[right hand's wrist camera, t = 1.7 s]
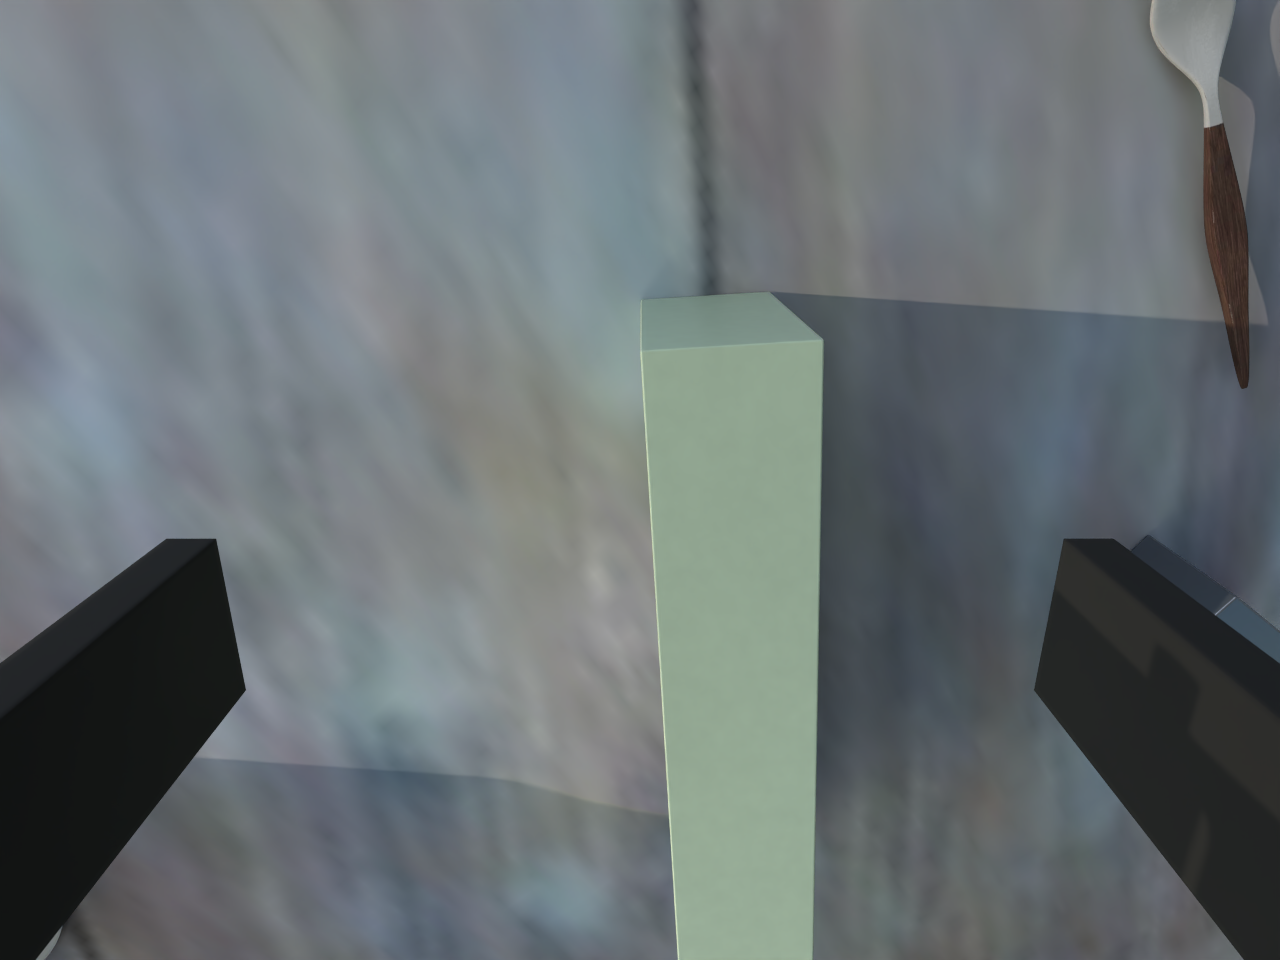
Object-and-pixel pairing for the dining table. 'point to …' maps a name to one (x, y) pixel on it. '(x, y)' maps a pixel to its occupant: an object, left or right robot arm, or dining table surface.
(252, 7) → the dining table surface
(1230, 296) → the fork
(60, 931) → the left robot arm
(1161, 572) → the slate cube
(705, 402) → the bar
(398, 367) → the dining table surface
